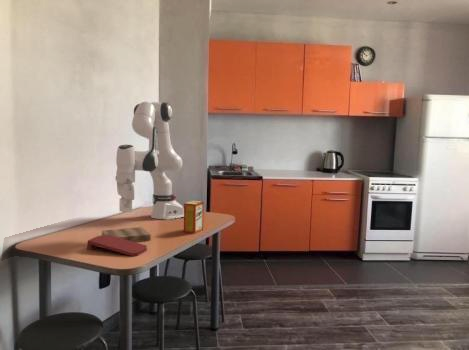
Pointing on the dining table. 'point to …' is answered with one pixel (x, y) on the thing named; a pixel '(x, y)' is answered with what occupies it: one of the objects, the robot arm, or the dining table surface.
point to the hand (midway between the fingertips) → (125, 206)
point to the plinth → (129, 234)
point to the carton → (116, 245)
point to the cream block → (122, 205)
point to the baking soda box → (193, 216)
